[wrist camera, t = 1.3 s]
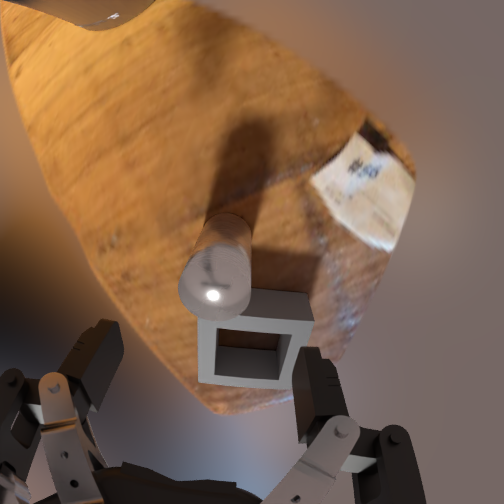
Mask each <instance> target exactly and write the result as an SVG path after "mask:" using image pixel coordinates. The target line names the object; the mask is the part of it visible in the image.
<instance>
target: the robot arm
mask: <svg viewBox="0 0 504 504" xmlns="http://www.w3.org/2000/svg"><path fill="white" fill-rule="evenodd" d="M4 1H8V2H12V3H15V4H19V5H22V6H26V7H29V8H32V9H35V10H38V11H41V12H44V13H47V14H50V15H52V16H55V17H58V18H60V19H63V20H65V21H68V22H70V23H73V24H75V25H76V26H80V27H82V28H85V29H87V30H92V31H101V30H107V29H111V28H114V27H117V26H119V25H121V24H124V23H126V22H128V21H129V20H131V19H133V18H134V17H136V16H137V15H139V14H140V13H141V12H143V11H144V10H145V9H146V8H147V7H149V6H150V5H151V4H152V3H153V2H154V1H155V0H4ZM123 354H124V346H123V341H122V337H121V332H120V327H119V324H118V322H116V321H111V320H107V319H101V320H100V321H99V322H98V324H97V325H96V327H95V328H93V327H90V328H89V329H87V330H86V331H85V332H83V333H82V334H81V336H80V337H79V339H78V340H77V343H75V345H74V346H73V349H71V351H70V352H69V354H68V355H67V357H66V359H65V360H64V362H63V363H62V365H61V366H60V368H59V369H58V371H57V372H53V373H48V374H46V375H45V376H44V377H42V379H29V378H25V376H24V375H23V373H22V372H21V371H20V370H19V369H16V368H12V369H8V370H6V371H5V372H4V373H3V374H2V376H1V377H0V504H29V500H30V499H31V494H30V492H29V489H28V486H27V484H26V479H27V476H28V473H29V470H30V467H31V464H32V460H33V458H34V455H35V452H36V449H37V447H38V444H39V442H40V439H41V437H42V441H43V446H44V450H45V454H46V458H47V462H48V465H49V469H50V472H51V475H52V479H53V482H54V485H55V488H56V490H57V493H55V494H53V495H51V496H49V497H47V498H45V499H43V500H40V501H38V502H36V503H34V504H320V503H321V502H322V500H323V499H324V497H325V496H326V495H327V493H328V492H329V490H330V489H331V487H332V486H333V484H334V482H335V480H336V478H335V477H336V475H337V473H338V472H339V470H341V471H347V472H352V479H353V488H354V498H355V504H426V499H425V494H424V490H423V485H422V481H421V477H420V473H419V469H418V465H417V461H416V457H415V453H414V450H413V446H412V443H411V439H410V436H409V434H408V432H407V431H406V430H405V429H404V428H403V427H401V426H398V425H389V426H386V427H385V428H384V429H382V431H378V430H372V429H366V428H362V427H360V426H359V425H358V424H357V422H355V420H353V419H352V418H350V417H349V414H348V410H347V407H346V403H345V399H344V395H343V392H342V388H341V387H340V385H341V384H340V381H339V379H338V373H337V370H336V367H335V366H334V365H333V363H332V362H331V361H330V360H329V359H322V357H321V353H320V349H319V347H307V346H301V347H300V349H299V353H298V356H297V359H296V362H295V365H294V368H293V372H292V387H293V396H294V405H295V413H296V422H297V430H298V431H297V432H298V441H299V443H307V450H306V452H305V453H304V454H303V455H302V457H301V458H300V459H299V460H298V461H297V463H296V464H295V465H294V466H293V467H292V469H291V470H290V471H289V472H288V473H287V475H286V476H285V477H284V478H283V479H282V480H281V482H280V483H279V484H278V485H277V486H276V487H275V488H274V489H273V491H272V492H271V493H270V494H269V495H268V496H267V497H266V498H265V499H264V500H262V499H260V498H259V497H257V496H256V495H254V494H252V493H250V492H248V491H246V490H243V489H240V488H237V487H236V482H226V481H216V480H194V481H175V480H172V479H170V478H168V477H166V476H163V475H161V474H159V473H157V472H155V471H153V470H150V469H148V468H144V467H141V466H137V465H133V464H130V463H127V462H123V463H122V466H121V467H108V465H107V463H106V461H105V460H104V458H103V456H102V455H101V452H100V450H99V448H98V445H97V443H96V440H95V437H94V434H93V432H92V429H91V426H90V423H89V420H88V417H87V414H88V411H89V410H92V411H94V412H98V411H99V408H100V406H101V403H102V401H103V399H104V397H105V394H106V392H107V390H108V388H109V386H110V383H111V381H112V379H113V377H114V375H115V373H116V371H117V368H118V366H119V364H120V362H121V360H122V358H123ZM18 411H19V415H18V417H17V419H16V421H15V423H14V425H13V427H12V430H11V425H12V423H13V421H14V419H15V417H16V414H17V413H18Z"/></svg>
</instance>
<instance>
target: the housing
mask: <svg viewBox="0 0 504 504" xmlns="http://www.w3.org/2000/svg"><path fill="white" fill-rule="evenodd" d="M314 322H315V321H314V317H313V314H312V310H311V306H310V303H309V299H308V296H307V293H298V292H287V291H276V290H266V289H256V288H251V298H250V302H249V304H248V306H247V308H246V309H245V310H244V311H243V312H242V313H241V314H240V315H238V316H237V317H235V318H233V319H230V320H227V321H209V320H205V319H202V318H199V317H198V382H201V383H208V384H217V385H226V386H236V387H248V388H264V389H290V390H291V388H292V372H293V368H294V365H295V362H296V359H297V356H298V353H299V349H300V347H301V346H307V343H308V340H309V337H310V334H311V331H312V328H313V325H314ZM219 328H222V329H231V330H241V331H252V332H263V333H276V334H280V338H279V342H278V346H277V350H276V351H271V350H257V349H246V348H235V347H225V346H218V342H219Z"/></svg>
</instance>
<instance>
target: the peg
mask: <svg viewBox="0 0 504 504" xmlns="http://www.w3.org/2000/svg"><path fill="white" fill-rule="evenodd" d="M251 247H252V235H251V230H250V228H249V226H248V224H247V223H246V222H245V221H244V220H243V219H242V218H241V217H239V216H237V215H234V214H230V213H221V214H217V215H215V216H213V217H211V218H210V219H209V220H208V221H207V222H206V223H205V225H204V227H203V229H202V231H201V233H200V236H199V238H198V240H197V242H196V244H195V246H194V249H193V251H192V253H191V255H190V257H189V260H188V262H187V264H186V266H185V268H184V271H183V273H182V275H181V278H180V280H179V284H178V292H179V296H180V299H181V301H182V303H183V304H184V306H185V307H186V308H187V309H188V310H189V311H190V312H191V313H193V314H194V315H196V316H198V317H199V318H202V319H205V320H209V321H227V320H230V319H233V318H235V317H237V316H238V315H240V314H241V313H242V312H243V311H244V310H245V309H246V308H247V306H248V304H249V302H250V298H251Z"/></svg>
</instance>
